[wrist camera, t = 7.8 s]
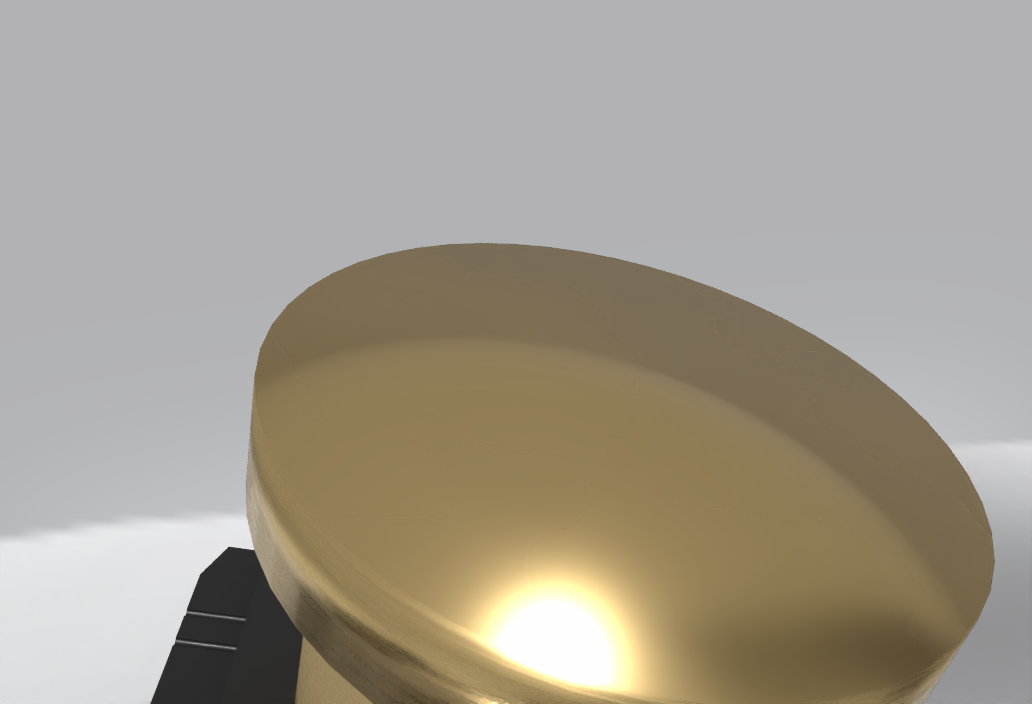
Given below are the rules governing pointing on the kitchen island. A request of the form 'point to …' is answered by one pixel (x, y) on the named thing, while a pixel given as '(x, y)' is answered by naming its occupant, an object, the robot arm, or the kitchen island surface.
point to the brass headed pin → (596, 494)
